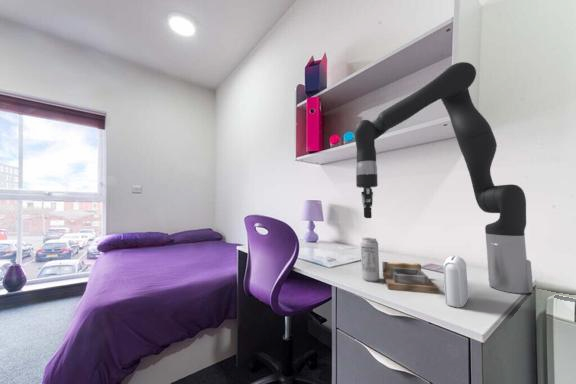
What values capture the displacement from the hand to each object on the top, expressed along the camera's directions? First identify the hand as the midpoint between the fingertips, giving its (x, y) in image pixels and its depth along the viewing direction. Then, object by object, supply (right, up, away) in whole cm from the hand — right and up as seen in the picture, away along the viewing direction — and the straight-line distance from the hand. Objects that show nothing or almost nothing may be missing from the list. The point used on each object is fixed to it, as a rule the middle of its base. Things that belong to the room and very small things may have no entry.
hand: (367, 217), depth 84 cm
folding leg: (+13, -22, 0) cm, 26 cm away
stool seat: (+11, -22, -8) cm, 26 cm away
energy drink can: (0, -23, -2) cm, 23 cm away
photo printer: (+17, -21, -21) cm, 35 cm away
